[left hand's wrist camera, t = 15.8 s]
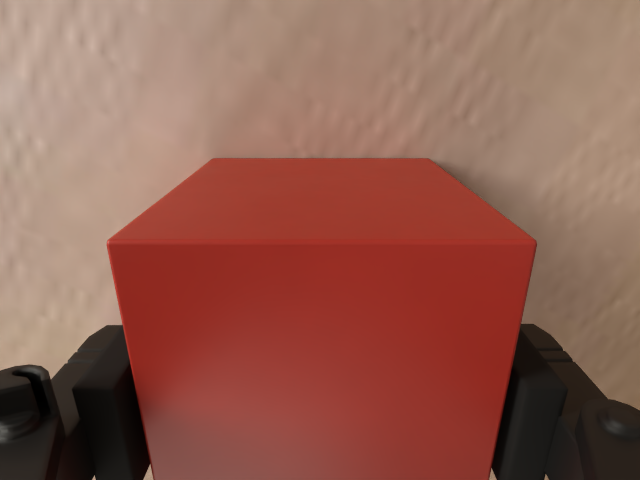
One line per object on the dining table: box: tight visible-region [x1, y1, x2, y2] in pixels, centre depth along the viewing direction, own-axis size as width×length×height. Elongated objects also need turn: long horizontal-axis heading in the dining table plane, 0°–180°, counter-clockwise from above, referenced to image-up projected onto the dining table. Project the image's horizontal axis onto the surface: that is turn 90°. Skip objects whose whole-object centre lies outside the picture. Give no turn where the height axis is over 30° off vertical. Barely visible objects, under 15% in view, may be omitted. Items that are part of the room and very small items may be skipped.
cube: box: [107, 158, 537, 480], centre depth 12 cm, size 8×7×7 cm
